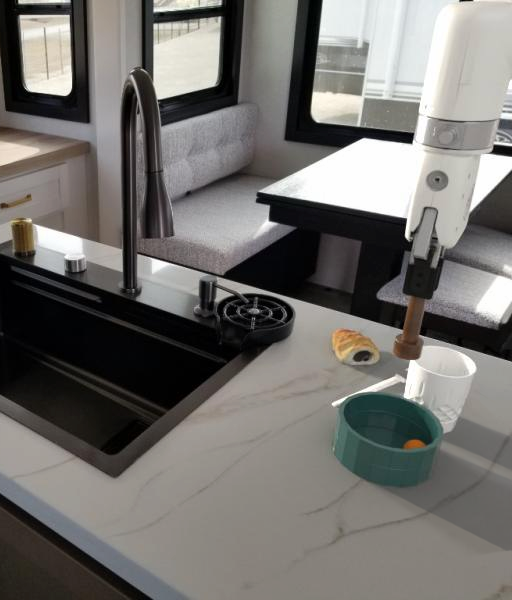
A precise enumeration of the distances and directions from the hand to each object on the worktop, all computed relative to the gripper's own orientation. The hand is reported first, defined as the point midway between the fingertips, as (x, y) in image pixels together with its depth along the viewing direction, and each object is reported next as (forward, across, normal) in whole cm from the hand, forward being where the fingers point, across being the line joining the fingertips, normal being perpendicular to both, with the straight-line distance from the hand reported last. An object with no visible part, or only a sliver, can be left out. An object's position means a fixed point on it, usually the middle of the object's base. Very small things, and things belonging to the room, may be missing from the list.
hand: (419, 290), depth 74 cm
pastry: (+23, +20, +11) cm, 33 cm away
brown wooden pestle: (+9, 0, 0) cm, 9 cm away
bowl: (+23, -3, 0) cm, 23 cm away
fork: (+23, +13, +4) cm, 27 cm away
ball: (+19, -2, -4) cm, 20 cm away
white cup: (+23, +9, -3) cm, 25 cm away
